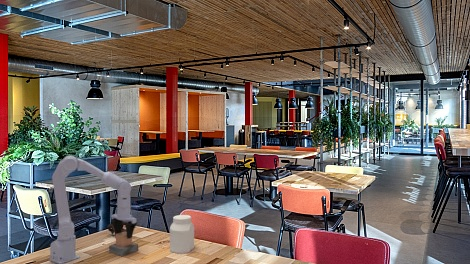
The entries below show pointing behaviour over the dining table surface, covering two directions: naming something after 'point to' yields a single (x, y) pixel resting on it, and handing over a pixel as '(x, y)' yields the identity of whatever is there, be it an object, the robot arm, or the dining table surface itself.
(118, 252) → the grey base block
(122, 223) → the pottery mug
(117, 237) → the terracotta block
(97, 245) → the dining table surface
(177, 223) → the jar
